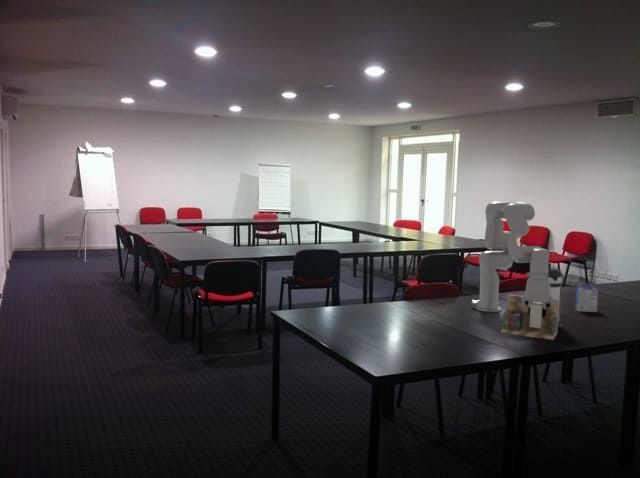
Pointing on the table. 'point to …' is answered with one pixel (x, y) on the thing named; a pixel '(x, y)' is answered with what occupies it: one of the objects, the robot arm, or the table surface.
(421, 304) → the table surface
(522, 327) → the bookshelf
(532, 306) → the boxed book
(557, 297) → the coffee press
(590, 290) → the ink cartridge box
